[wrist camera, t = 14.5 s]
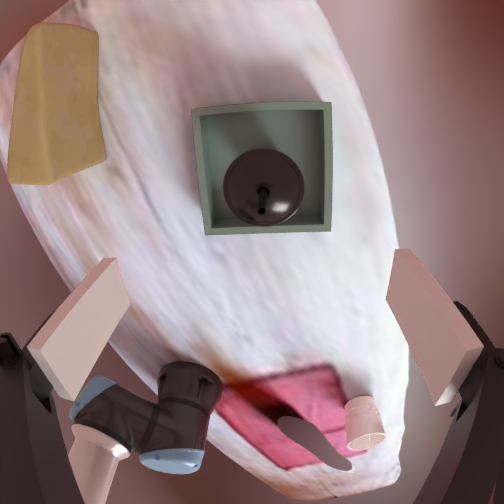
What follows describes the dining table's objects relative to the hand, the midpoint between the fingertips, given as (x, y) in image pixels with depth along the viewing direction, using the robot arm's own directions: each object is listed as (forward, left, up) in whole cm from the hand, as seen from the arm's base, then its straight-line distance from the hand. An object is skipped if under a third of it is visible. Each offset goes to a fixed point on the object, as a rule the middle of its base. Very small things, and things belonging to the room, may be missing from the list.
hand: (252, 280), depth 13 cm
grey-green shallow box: (0, 0, -30) cm, 30 cm away
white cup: (+22, -58, -30) cm, 69 cm away
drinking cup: (0, 0, -29) cm, 29 cm away
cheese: (-27, +15, -30) cm, 43 cm away
